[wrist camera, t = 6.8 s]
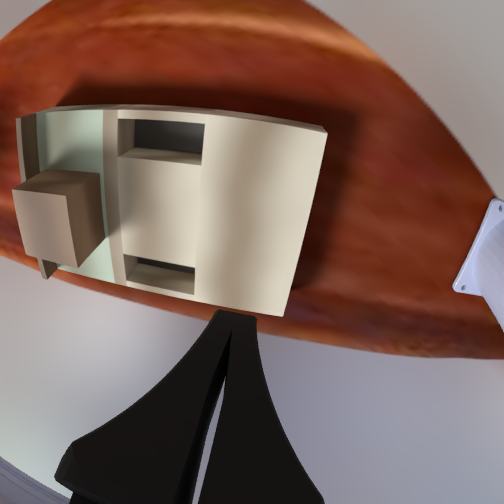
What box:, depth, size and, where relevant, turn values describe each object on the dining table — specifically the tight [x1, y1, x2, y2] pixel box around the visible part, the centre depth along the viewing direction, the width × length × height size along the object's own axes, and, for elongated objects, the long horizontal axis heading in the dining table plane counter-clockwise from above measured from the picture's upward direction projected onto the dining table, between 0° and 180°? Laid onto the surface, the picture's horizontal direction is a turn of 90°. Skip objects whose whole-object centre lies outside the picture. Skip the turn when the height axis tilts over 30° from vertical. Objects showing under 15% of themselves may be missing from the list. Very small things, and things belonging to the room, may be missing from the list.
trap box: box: [16, 104, 328, 317], centre depth 18 cm, size 18×12×4 cm, turn 83°
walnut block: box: [12, 169, 105, 268], centre depth 16 cm, size 4×4×4 cm
